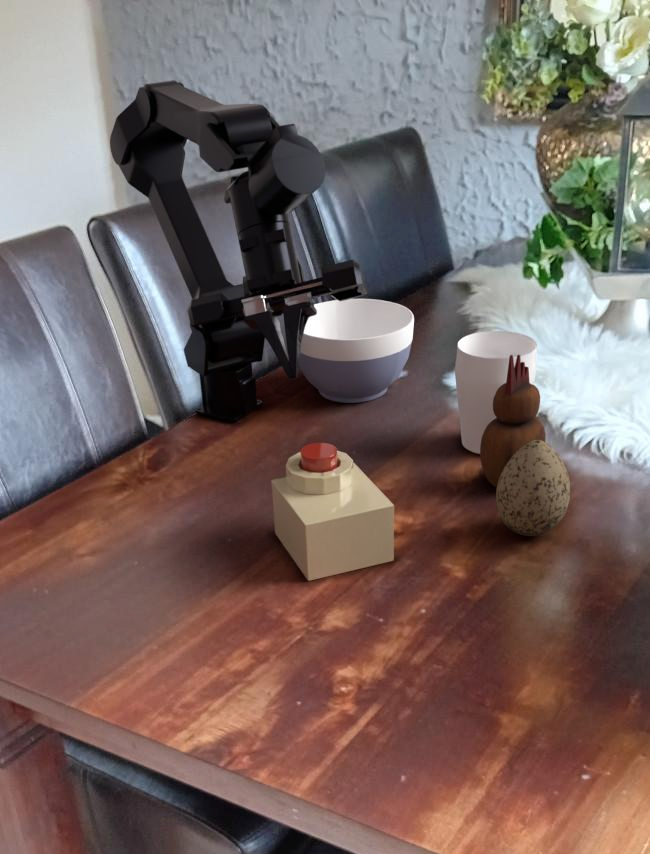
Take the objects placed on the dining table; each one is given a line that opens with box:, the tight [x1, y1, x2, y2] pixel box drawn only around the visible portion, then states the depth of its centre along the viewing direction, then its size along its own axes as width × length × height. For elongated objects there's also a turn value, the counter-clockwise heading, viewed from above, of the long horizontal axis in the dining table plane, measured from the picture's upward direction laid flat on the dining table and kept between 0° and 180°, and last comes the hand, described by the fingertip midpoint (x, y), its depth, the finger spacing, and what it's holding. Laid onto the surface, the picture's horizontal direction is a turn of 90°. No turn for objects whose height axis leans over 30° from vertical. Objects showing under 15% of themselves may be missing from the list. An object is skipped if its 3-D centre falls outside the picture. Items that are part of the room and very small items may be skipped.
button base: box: [270, 450, 395, 582], centre depth 99 cm, size 11×9×8 cm
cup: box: [454, 330, 538, 455], centre depth 115 cm, size 9×9×12 cm
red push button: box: [300, 442, 338, 473], centre depth 99 cm, size 4×4×2 cm
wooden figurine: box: [479, 355, 547, 488], centre depth 106 cm, size 7×6×15 cm
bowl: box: [299, 298, 415, 404], centre depth 131 cm, size 16×16×10 cm
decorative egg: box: [495, 440, 571, 537], centre depth 99 cm, size 7×7×10 cm
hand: (293, 378), depth 108 cm, fingers closed
